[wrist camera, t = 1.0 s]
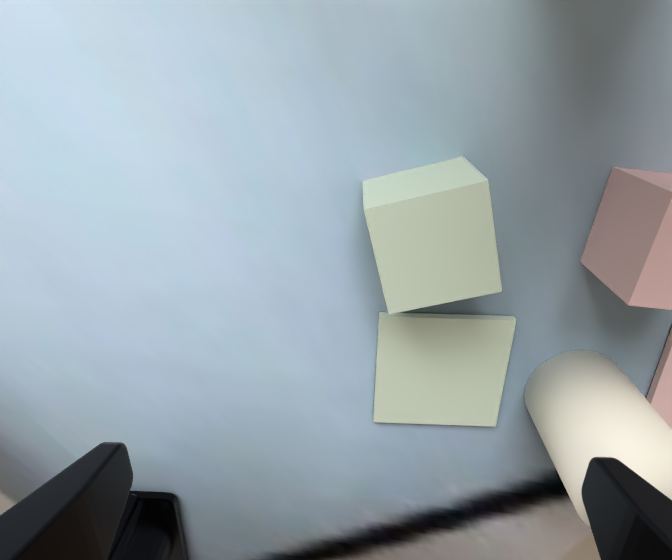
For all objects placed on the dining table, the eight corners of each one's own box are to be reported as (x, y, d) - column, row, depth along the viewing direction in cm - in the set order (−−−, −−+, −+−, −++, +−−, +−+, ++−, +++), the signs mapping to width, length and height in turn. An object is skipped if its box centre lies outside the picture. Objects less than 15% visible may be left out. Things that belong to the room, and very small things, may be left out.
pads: (760, 430, 23) (767, 436, 23) (373, 416, 24) (373, 422, 24) (813, 324, 21) (822, 329, 21) (379, 312, 22) (379, 316, 21)
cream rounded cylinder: (609, 429, 24) (683, 539, 18) (516, 425, 24) (562, 533, 19) (634, 351, 22) (726, 449, 16) (533, 348, 22) (590, 444, 17)
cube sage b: (476, 249, 20) (502, 291, 17) (382, 269, 21) (388, 314, 17) (462, 156, 19) (488, 180, 15) (362, 180, 19) (363, 209, 16)
